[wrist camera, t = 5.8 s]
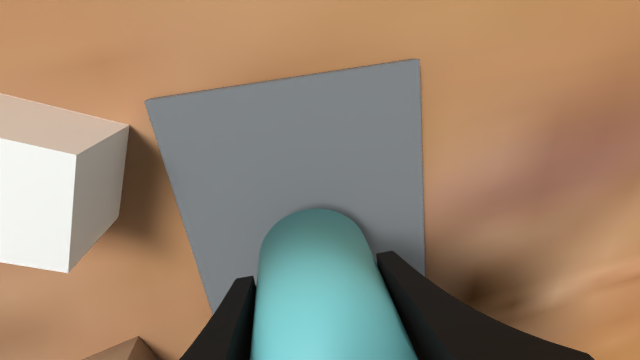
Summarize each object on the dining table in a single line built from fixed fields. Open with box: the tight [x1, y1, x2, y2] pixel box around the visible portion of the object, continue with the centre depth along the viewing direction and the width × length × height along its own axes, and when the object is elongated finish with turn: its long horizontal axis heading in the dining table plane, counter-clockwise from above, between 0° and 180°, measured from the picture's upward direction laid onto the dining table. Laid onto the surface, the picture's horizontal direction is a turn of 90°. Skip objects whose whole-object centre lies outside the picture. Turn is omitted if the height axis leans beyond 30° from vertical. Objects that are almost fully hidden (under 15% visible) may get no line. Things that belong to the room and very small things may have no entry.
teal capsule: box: [250, 209, 418, 360], centre depth 11 cm, size 4×4×7 cm
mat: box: [144, 59, 425, 314], centre depth 16 cm, size 14×10×1 cm
